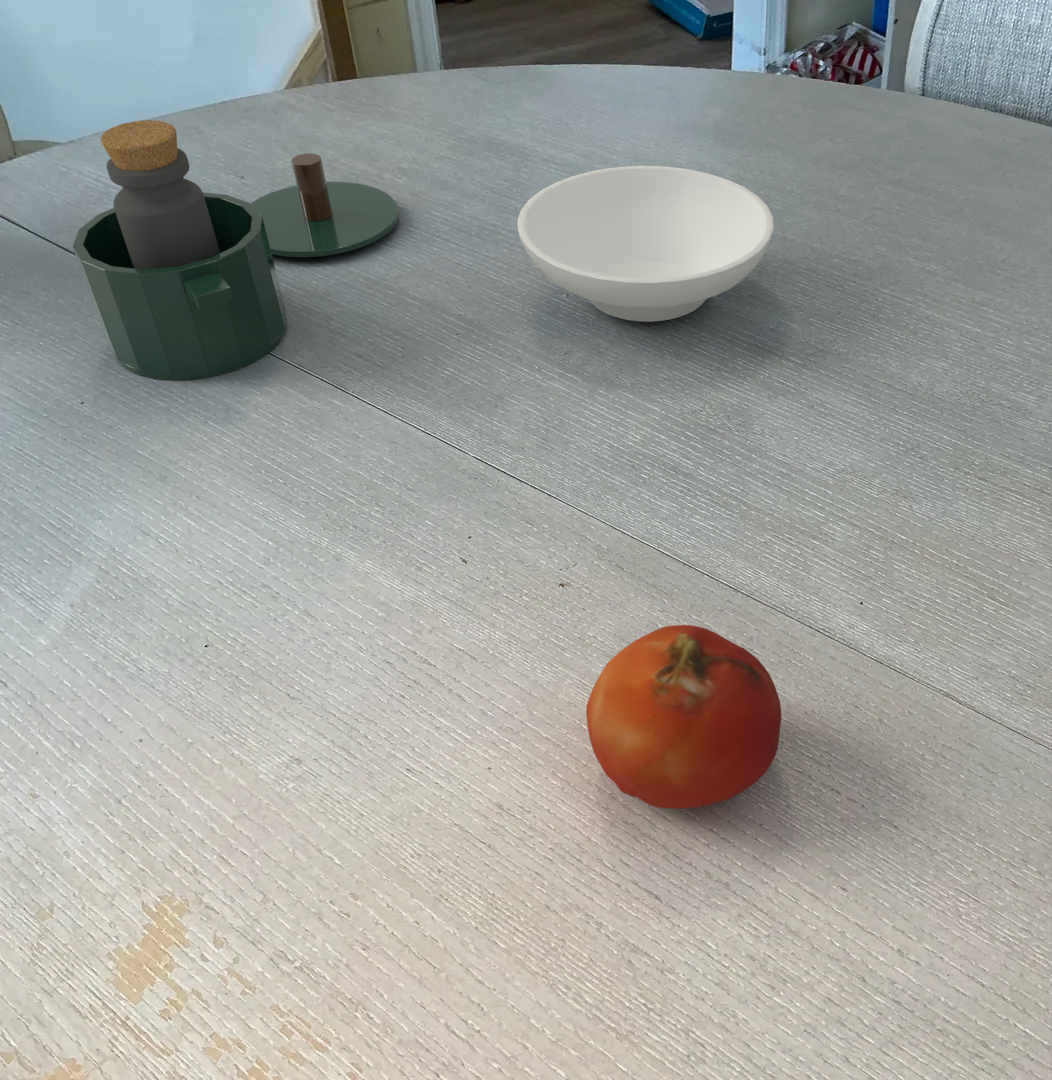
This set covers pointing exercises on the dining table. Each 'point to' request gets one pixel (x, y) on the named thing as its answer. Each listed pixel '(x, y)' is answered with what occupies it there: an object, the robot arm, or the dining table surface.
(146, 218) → the bottle
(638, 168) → the bowl
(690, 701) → the tomato
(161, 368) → the pot
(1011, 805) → the dining table surface
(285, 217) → the lid
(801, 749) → the dining table surface
